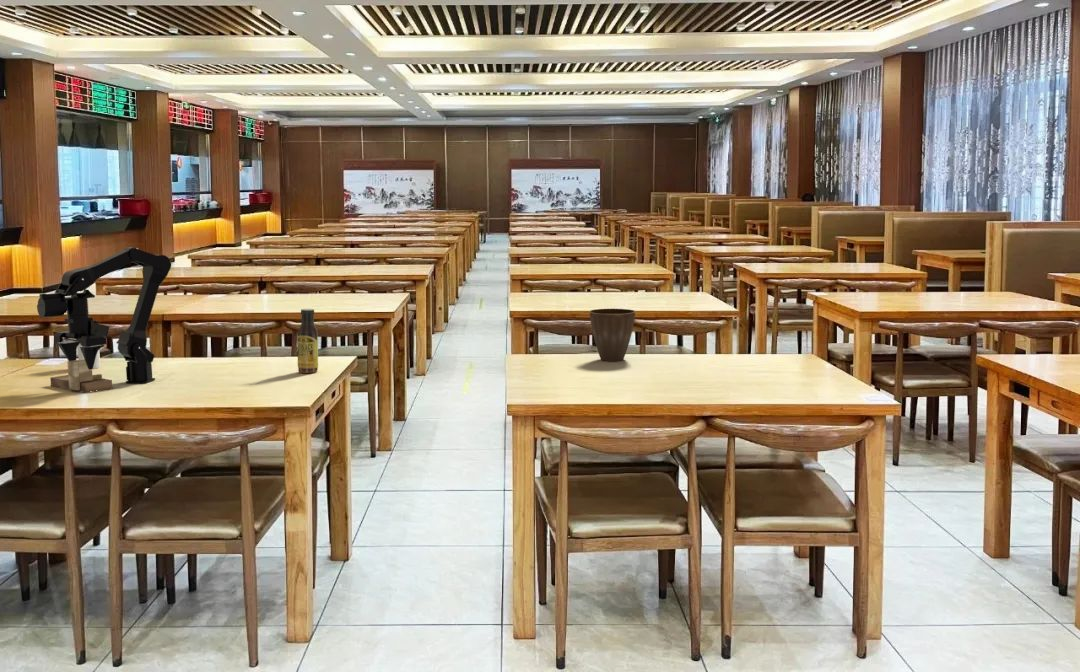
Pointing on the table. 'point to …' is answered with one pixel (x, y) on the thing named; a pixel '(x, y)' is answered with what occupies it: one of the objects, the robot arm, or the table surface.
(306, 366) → the sauce bottle
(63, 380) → the walnut board
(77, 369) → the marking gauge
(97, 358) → the mug
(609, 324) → the plant pot
